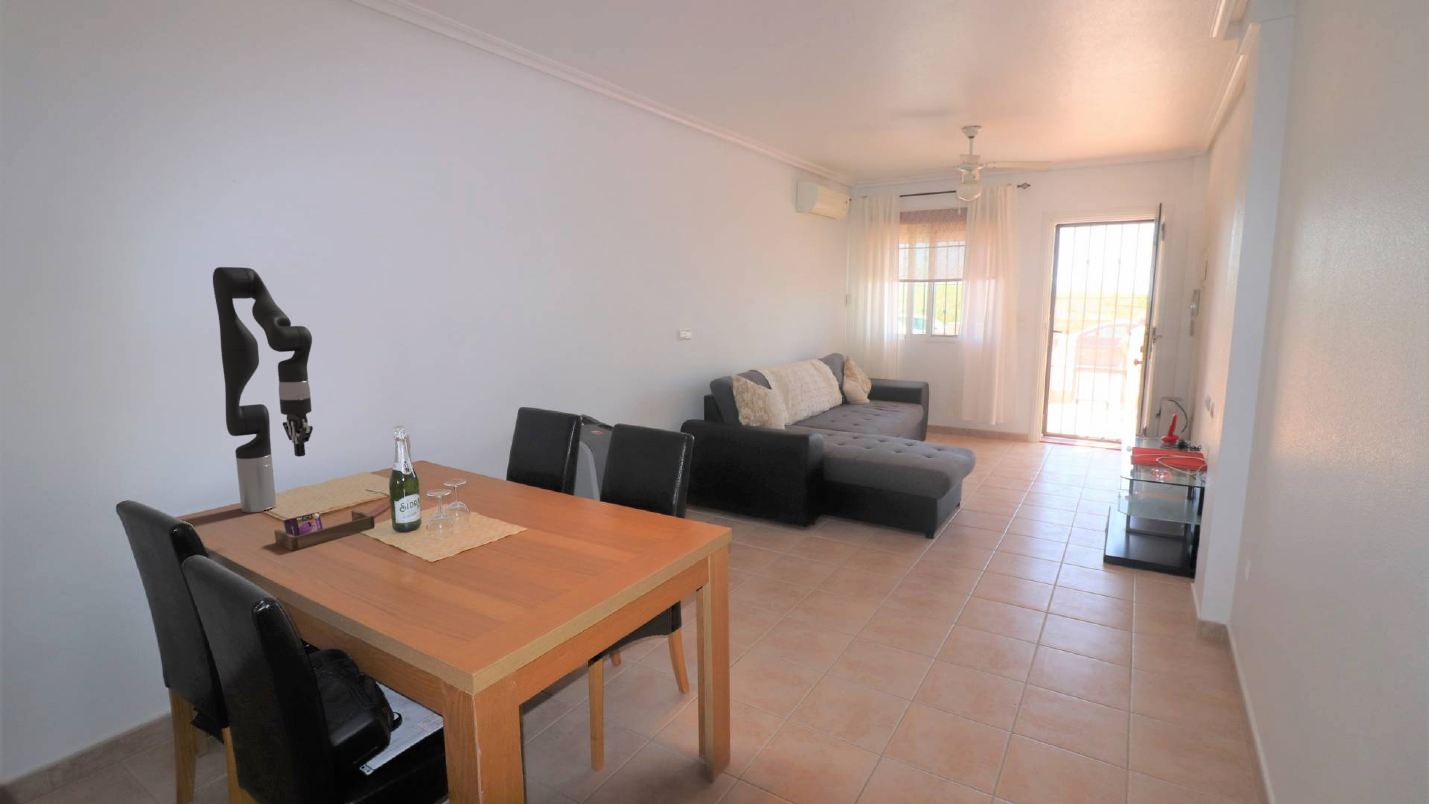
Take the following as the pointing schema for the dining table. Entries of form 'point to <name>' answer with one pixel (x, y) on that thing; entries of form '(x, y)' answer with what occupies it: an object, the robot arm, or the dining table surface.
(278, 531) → the tray
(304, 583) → the dining table surface
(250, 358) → the robot arm
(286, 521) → the purple printed carton
